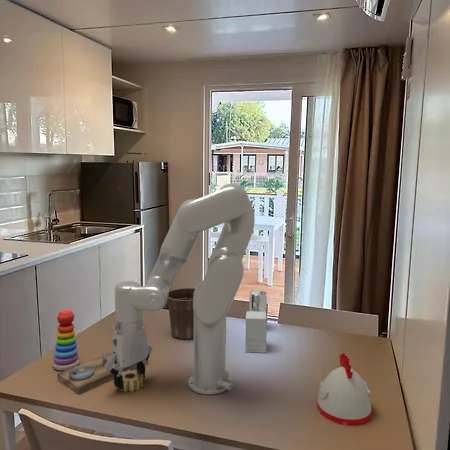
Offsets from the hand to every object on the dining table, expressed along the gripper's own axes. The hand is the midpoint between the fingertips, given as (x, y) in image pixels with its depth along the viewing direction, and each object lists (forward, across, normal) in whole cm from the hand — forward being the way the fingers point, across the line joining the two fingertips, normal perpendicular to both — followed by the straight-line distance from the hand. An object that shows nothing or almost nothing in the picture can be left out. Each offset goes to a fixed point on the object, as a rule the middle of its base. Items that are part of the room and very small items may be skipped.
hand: (130, 381), depth 121 cm
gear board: (+1, 0, +13) cm, 13 cm away
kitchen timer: (+1, +30, -53) cm, 61 cm away
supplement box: (+1, +45, -13) cm, 47 cm away
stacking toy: (+1, -6, +25) cm, 26 cm away
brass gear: (+1, 0, 0) cm, 1 cm away
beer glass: (+1, +60, -3) cm, 60 cm away
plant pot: (+1, +38, +15) cm, 41 cm away
